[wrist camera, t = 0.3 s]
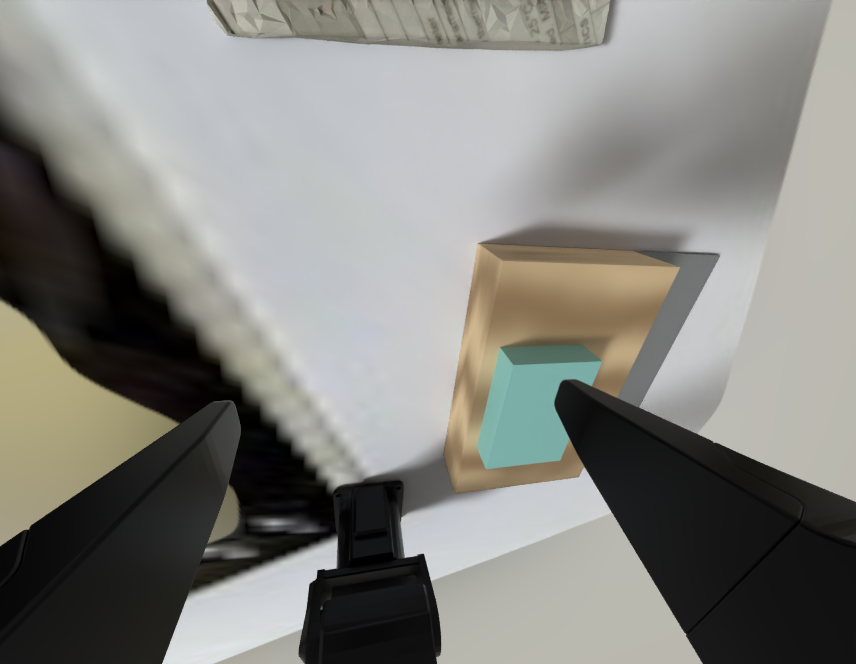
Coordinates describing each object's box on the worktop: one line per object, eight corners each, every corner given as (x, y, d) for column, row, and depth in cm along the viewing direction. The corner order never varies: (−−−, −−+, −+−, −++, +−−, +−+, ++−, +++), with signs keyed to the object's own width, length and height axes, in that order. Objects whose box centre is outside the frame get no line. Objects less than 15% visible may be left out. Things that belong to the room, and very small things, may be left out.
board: (555, 443, 32) (578, 477, 29) (443, 455, 30) (454, 493, 26) (631, 250, 23) (680, 267, 19) (478, 243, 20) (502, 260, 17)
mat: (620, 436, 34) (622, 438, 34) (555, 443, 32) (556, 445, 32) (716, 254, 25) (720, 255, 24) (631, 250, 23) (635, 251, 23)
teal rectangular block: (546, 439, 25) (560, 460, 24) (476, 447, 24) (485, 469, 22) (582, 344, 21) (602, 361, 19) (499, 347, 20) (513, 365, 18)
